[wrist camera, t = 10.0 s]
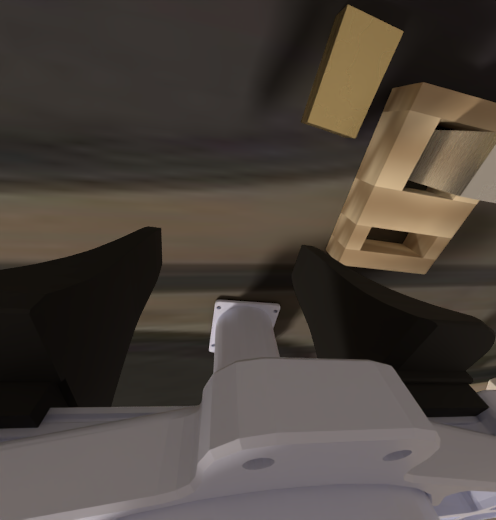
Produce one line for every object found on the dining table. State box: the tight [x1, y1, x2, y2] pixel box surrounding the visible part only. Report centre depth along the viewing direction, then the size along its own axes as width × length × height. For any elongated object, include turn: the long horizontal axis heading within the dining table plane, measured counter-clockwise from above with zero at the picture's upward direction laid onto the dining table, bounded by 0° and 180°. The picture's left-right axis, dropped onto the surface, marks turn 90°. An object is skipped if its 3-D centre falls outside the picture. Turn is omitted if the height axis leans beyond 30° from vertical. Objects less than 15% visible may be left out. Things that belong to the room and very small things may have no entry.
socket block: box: [326, 82, 496, 274], centre depth 20 cm, size 14×10×3 cm
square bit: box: [408, 130, 496, 203], centre depth 16 cm, size 4×4×7 cm
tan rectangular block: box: [301, 5, 404, 138], centre depth 15 cm, size 6×4×2 cm, turn 165°
